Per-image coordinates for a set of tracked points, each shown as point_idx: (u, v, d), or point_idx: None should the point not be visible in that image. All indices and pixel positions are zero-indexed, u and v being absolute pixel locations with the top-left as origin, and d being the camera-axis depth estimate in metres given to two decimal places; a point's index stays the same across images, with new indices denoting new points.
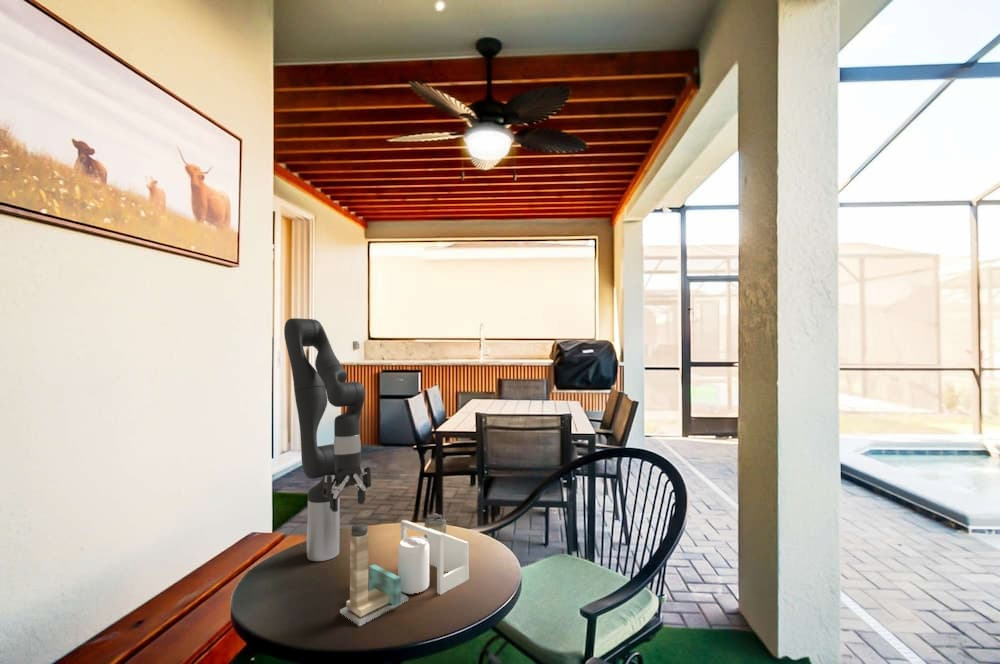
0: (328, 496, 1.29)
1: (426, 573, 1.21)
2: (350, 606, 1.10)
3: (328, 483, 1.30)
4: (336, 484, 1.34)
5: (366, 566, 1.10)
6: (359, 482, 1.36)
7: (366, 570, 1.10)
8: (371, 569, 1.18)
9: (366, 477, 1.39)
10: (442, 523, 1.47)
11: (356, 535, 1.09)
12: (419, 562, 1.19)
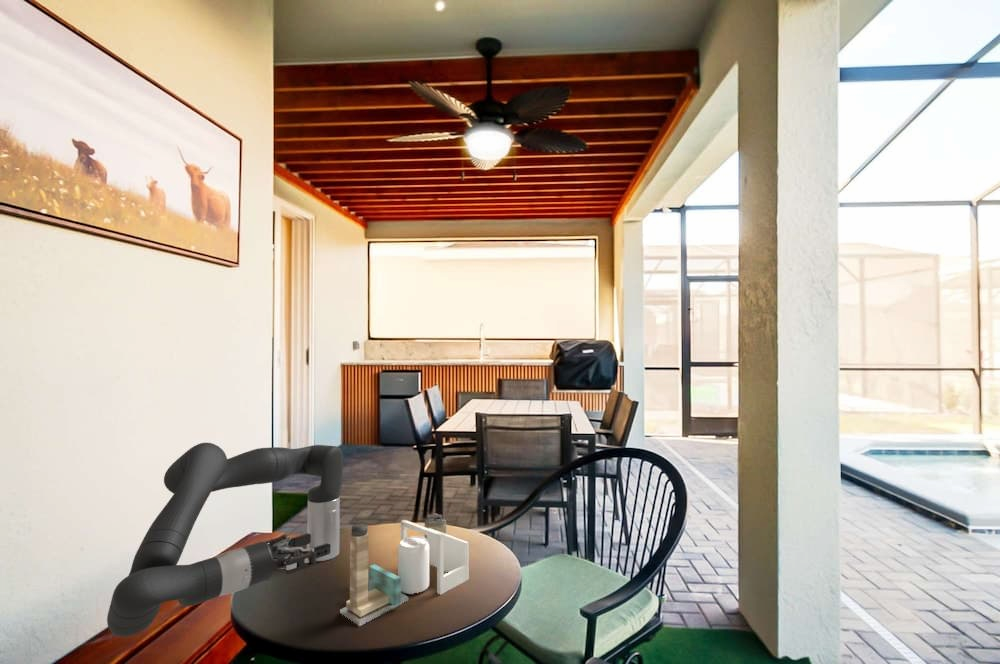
0: None
1: (426, 573, 1.21)
2: (350, 606, 1.10)
3: None
4: None
5: (366, 566, 1.10)
6: None
7: (366, 570, 1.10)
8: (371, 569, 1.18)
9: None
10: (442, 523, 1.47)
11: (356, 535, 1.09)
12: (419, 562, 1.19)
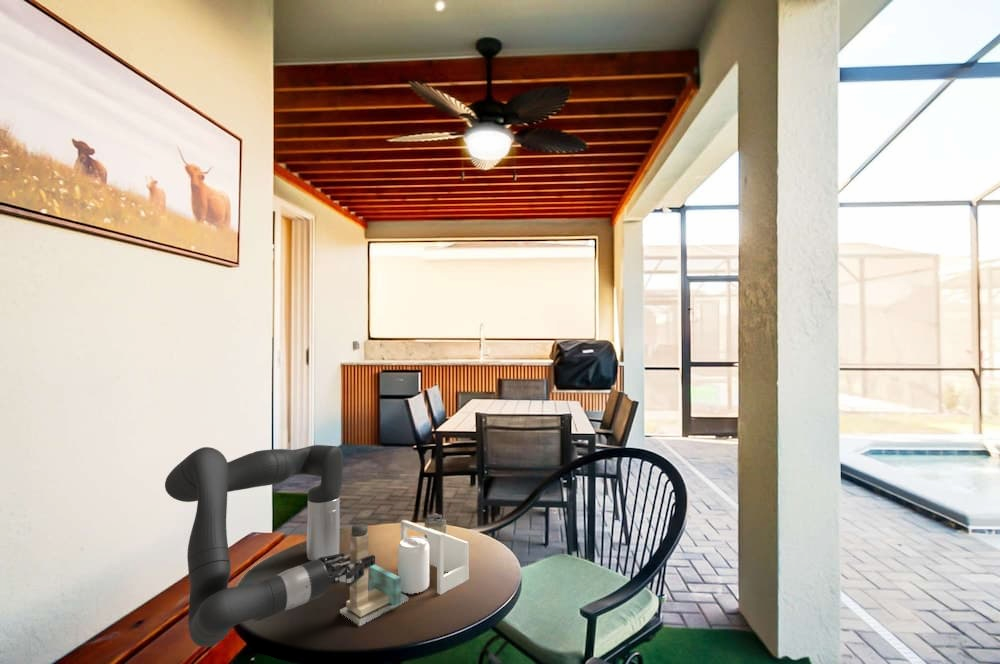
0: None
1: (426, 573, 1.21)
2: (350, 606, 1.10)
3: None
4: None
5: None
6: None
7: (366, 570, 1.10)
8: (371, 569, 1.18)
9: None
10: (442, 523, 1.47)
11: (356, 535, 1.09)
12: (419, 562, 1.19)
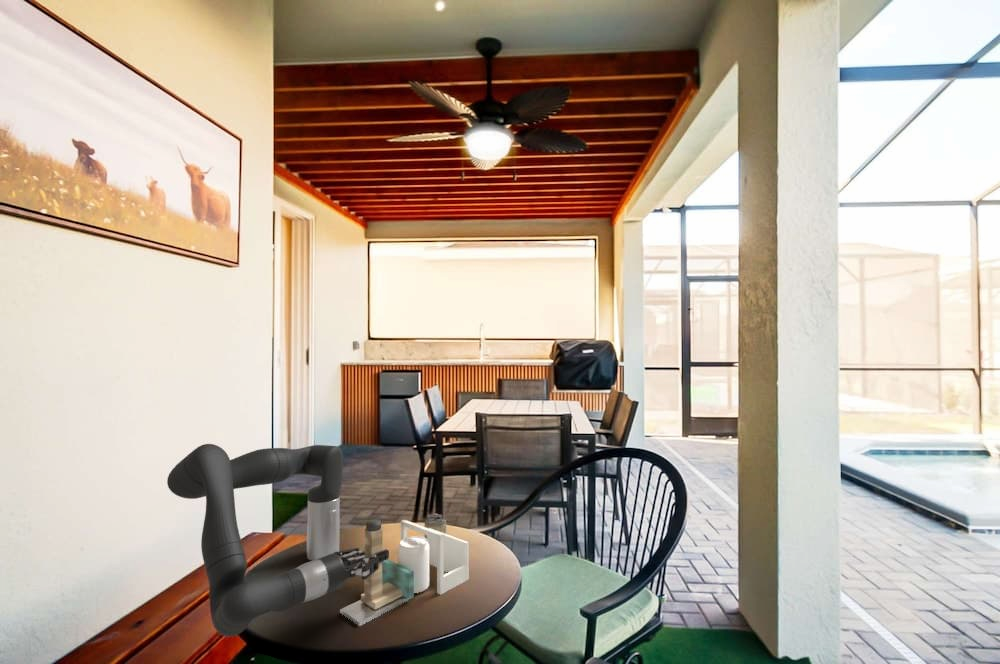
0: None
1: (426, 573, 1.21)
2: (365, 599, 1.13)
3: None
4: None
5: None
6: None
7: (380, 564, 1.13)
8: (384, 563, 1.21)
9: None
10: (442, 523, 1.47)
11: (371, 530, 1.12)
12: (419, 562, 1.19)
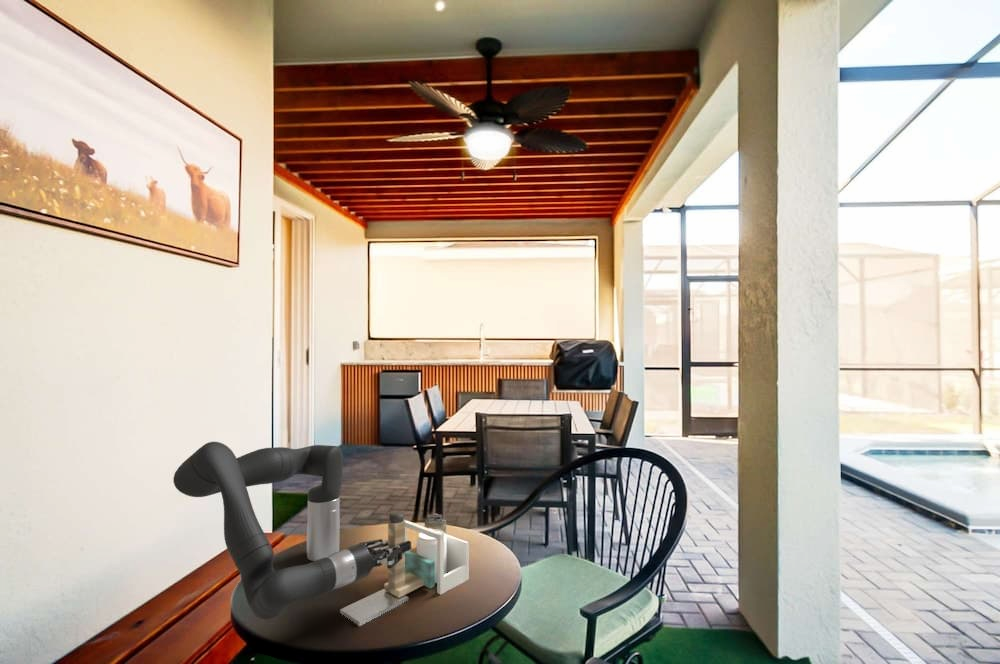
0: None
1: (444, 564, 1.26)
2: (388, 588, 1.18)
3: None
4: None
5: None
6: None
7: (403, 554, 1.18)
8: (405, 555, 1.26)
9: None
10: (442, 523, 1.47)
11: (394, 522, 1.17)
12: None
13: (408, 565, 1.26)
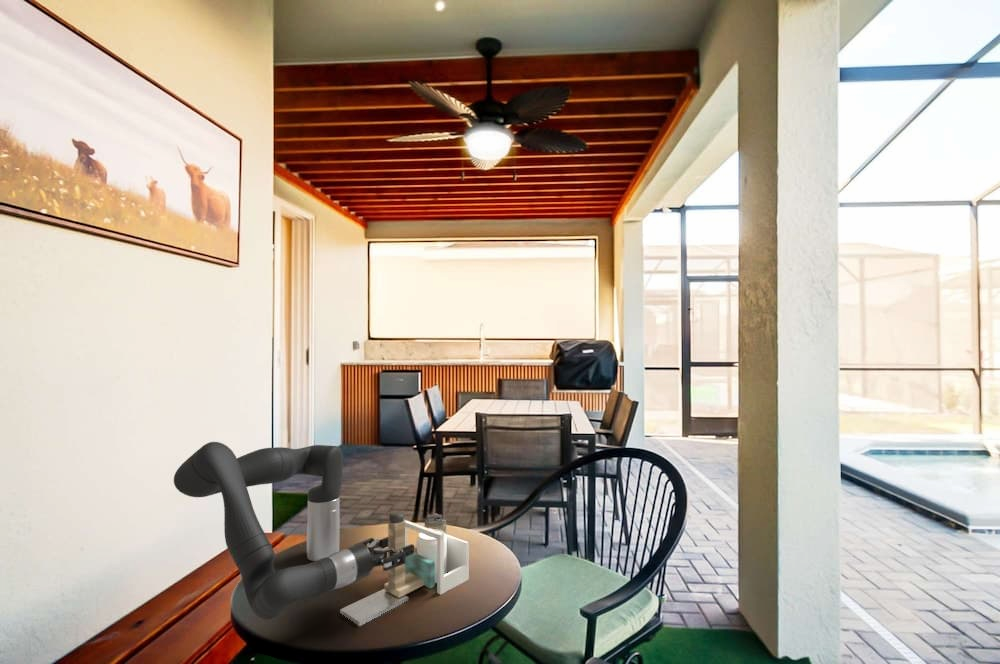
0: None
1: (444, 564, 1.26)
2: (388, 588, 1.18)
3: None
4: None
5: None
6: None
7: None
8: None
9: None
10: (442, 523, 1.47)
11: (394, 522, 1.17)
12: None
13: (408, 565, 1.26)
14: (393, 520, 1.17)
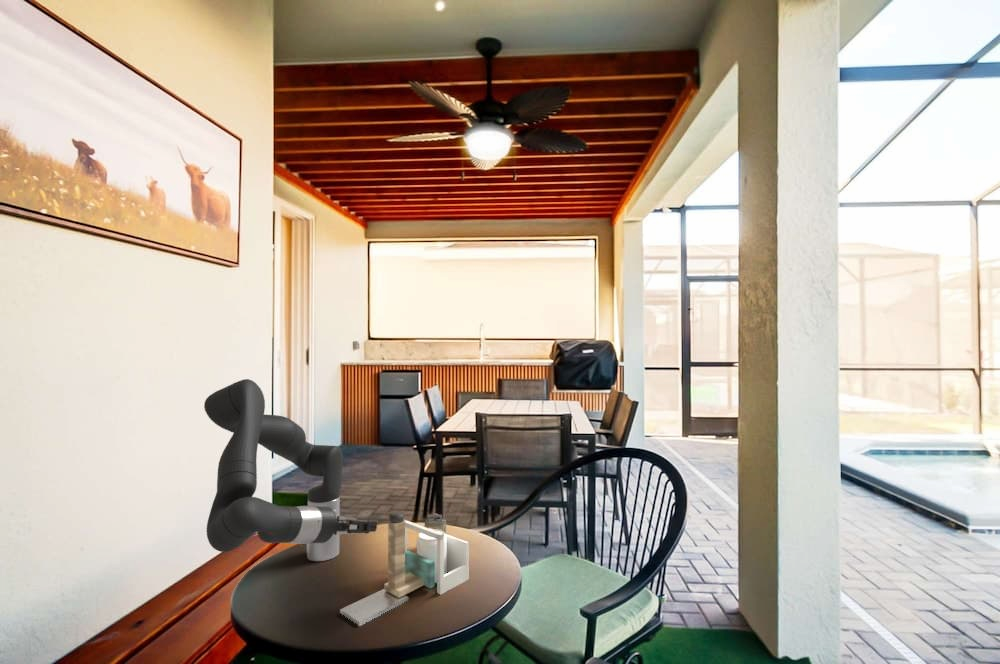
0: None
1: (444, 564, 1.26)
2: (388, 588, 1.18)
3: None
4: None
5: (403, 551, 1.19)
6: (349, 533, 1.07)
7: (403, 554, 1.19)
8: (405, 554, 1.26)
9: None
10: (442, 523, 1.47)
11: (394, 522, 1.17)
12: None
13: (408, 565, 1.26)
14: (393, 520, 1.17)
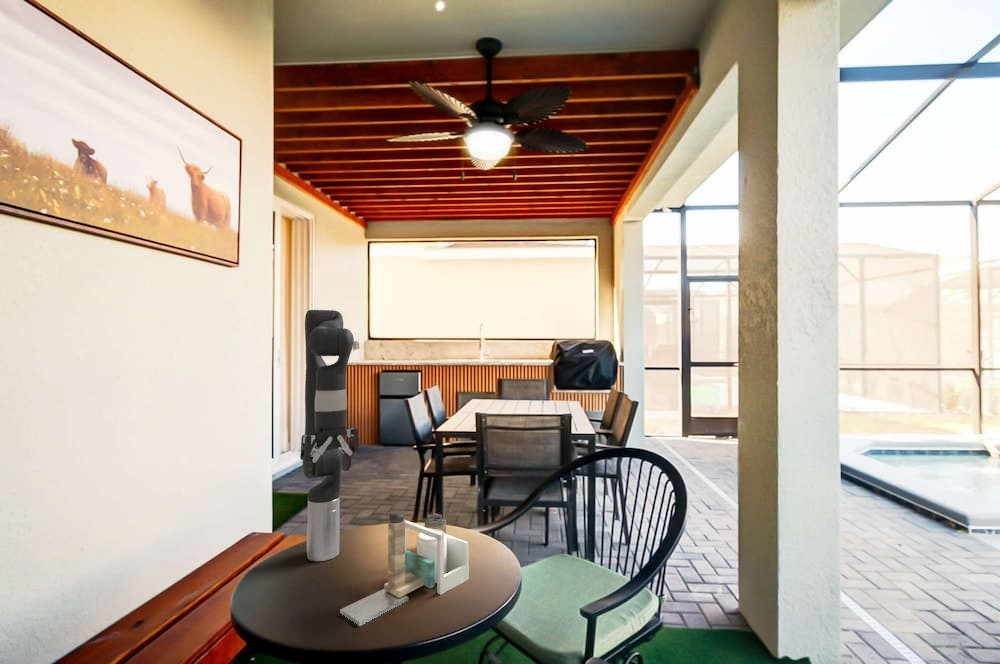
0: (306, 459, 1.09)
1: (444, 564, 1.26)
2: (388, 588, 1.18)
3: (307, 444, 1.10)
4: (317, 446, 1.14)
5: (403, 551, 1.19)
6: (344, 445, 1.17)
7: (403, 554, 1.19)
8: (405, 554, 1.26)
9: (353, 440, 1.19)
10: (442, 523, 1.47)
11: (394, 522, 1.17)
12: None
13: (408, 565, 1.26)
14: (393, 520, 1.17)
